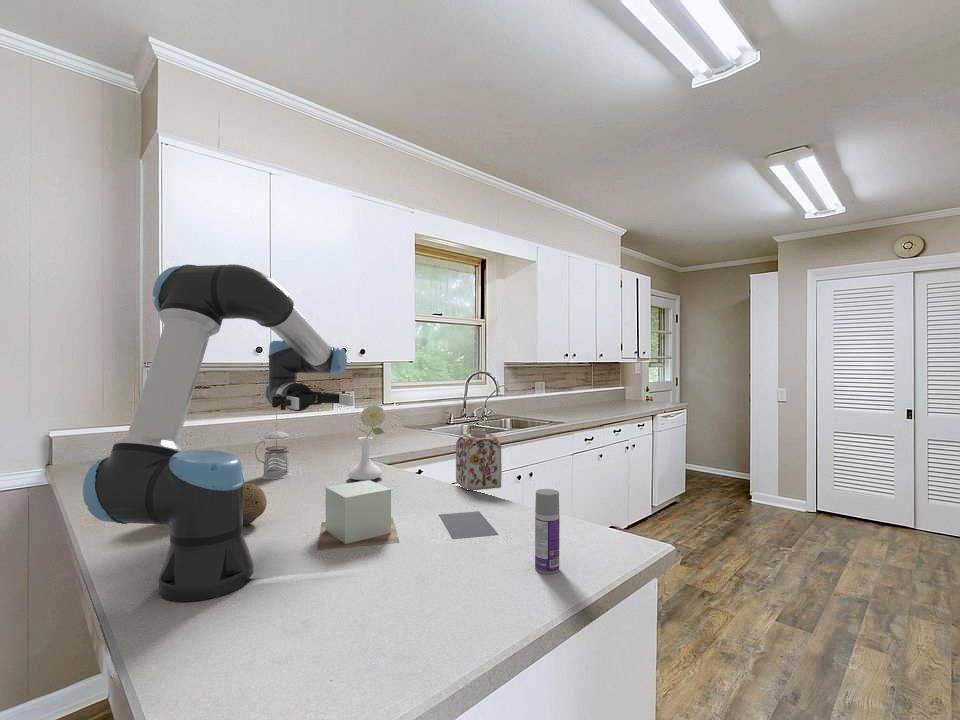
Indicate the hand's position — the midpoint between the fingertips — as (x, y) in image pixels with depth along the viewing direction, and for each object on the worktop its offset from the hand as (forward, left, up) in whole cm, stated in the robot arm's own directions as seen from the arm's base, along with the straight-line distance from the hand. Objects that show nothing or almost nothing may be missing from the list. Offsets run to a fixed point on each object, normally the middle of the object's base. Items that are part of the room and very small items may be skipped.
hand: (325, 402), depth 122 cm
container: (-37, -43, -30) cm, 64 cm away
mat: (-9, -29, -30) cm, 42 cm away
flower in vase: (+45, -12, -30) cm, 55 cm away
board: (-9, -8, -30) cm, 32 cm away
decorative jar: (+28, -46, -30) cm, 62 cm away
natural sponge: (+5, +18, -30) cm, 36 cm away
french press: (+57, +19, -30) cm, 67 cm away
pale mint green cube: (-9, -8, -29) cm, 31 cm away
